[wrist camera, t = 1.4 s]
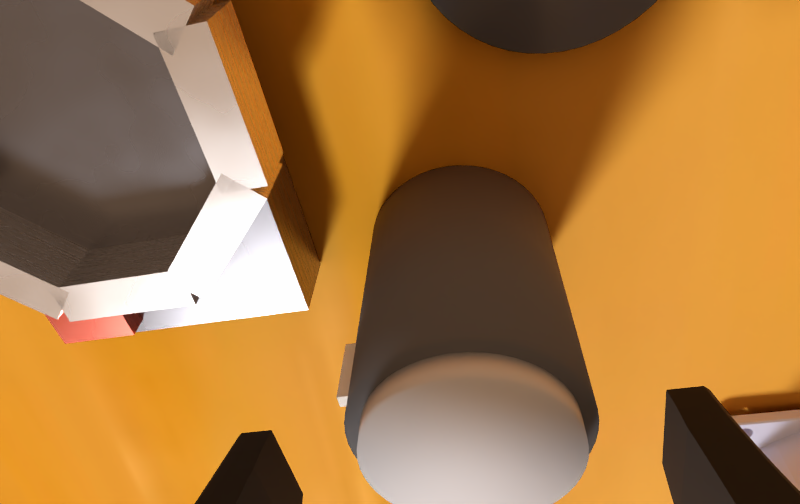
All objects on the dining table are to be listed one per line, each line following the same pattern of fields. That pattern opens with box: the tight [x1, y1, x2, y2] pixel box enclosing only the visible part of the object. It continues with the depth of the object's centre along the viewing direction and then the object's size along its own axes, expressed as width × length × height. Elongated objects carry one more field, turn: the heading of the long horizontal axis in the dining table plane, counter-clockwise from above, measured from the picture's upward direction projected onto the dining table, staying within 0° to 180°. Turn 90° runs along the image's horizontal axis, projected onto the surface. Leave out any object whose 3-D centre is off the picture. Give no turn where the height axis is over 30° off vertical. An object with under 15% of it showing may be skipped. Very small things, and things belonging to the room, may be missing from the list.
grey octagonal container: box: [0, 0, 320, 344], centre depth 14 cm, size 8×10×4 cm
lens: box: [337, 165, 599, 504], centre depth 14 cm, size 5×5×7 cm
